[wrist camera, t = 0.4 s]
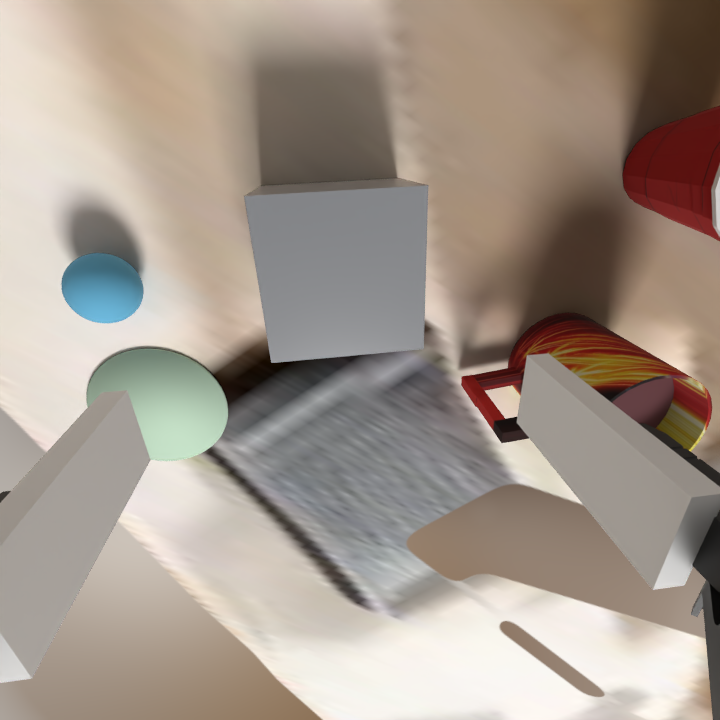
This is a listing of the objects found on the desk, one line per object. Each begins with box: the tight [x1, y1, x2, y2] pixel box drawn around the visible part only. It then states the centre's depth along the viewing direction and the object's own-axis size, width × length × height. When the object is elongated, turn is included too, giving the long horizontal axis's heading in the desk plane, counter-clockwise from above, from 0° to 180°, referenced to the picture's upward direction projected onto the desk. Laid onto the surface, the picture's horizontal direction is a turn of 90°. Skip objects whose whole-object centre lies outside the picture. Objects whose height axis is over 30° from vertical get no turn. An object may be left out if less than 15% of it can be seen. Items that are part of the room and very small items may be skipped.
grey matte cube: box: [244, 178, 428, 363], centre depth 29 cm, size 10×10×9 cm
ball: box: [62, 253, 143, 323], centre depth 29 cm, size 5×5×5 cm
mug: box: [461, 313, 712, 452], centre depth 35 cm, size 10×14×12 cm
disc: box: [87, 349, 228, 461], centre depth 37 cm, size 12×12×1 cm
